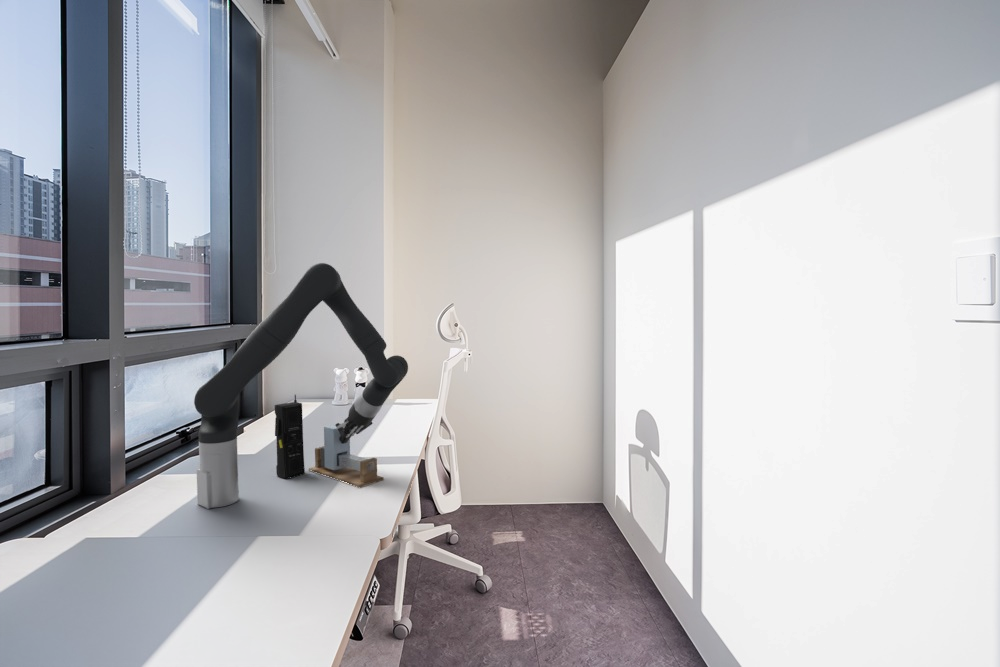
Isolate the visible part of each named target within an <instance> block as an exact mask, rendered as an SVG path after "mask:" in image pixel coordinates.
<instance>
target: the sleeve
mask: <svg viewBox="0 0 1000 667" xmlns="http://www.w3.org/2000/svg"><path fill="white" fill-rule="evenodd" d="M336 424H337V423H335V424H331V425H326V426H324V427H323V443H324V445H323V446H324V455H325V468H328V469H331V470H337V469H341V468H344V467H345V466H341V465H338V464H337V454H338V453H342V452H344V453H348V454H351V440H350V439H351V438H350V439H349V440H348V442H347V443H344V444H342V443H341V441H340V440H339V438H340V436H341V435H340V433H339V431H338V429H337V427H336V426H335V425H336Z"/></svg>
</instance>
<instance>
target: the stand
mask: <svg viewBox="0 0 1000 667" xmlns="http://www.w3.org/2000/svg"><path fill="white" fill-rule="evenodd" d="M321 447H324V445H323V446H319V447H315V448H314V465H315V466H313V467H310V468H308V471H309V470H312V471H314V472H317V473H320V474H323V475H326V476H329V477H332V478H335V479H338V480H341V481H344V482H347V483H349V484H348V485H350V484H352V485H351V486H353V485H355V486H354V487H356V486H357V488H359V487H360V488H363V487H366V486H368V485H372V484H375V483H378V482H381V481H384V476H380V475H378V458H377V457H371V458H366V459H367V460H363V461H360V471H358V470H355V469H351V468H348V467H344V468H341V469H337V470H331V469H328V468H325V467H322V466H321V457H320V450H321ZM372 461H374V464H373V465H374V468H373V469H374V471H371V472H368V471H370V468H369V467H370V466H368V465H371V470H373V469H372V466H373V465H372V463H373V462H372ZM369 462H371V464H370V463H369ZM367 464H368V465H367ZM366 465H367V466H366ZM367 468H369V470H368V469H367ZM366 469H367V470H366ZM366 471H367V472H368V473H367V472H366ZM314 472H313V473H314ZM317 473H316V474H317ZM320 474H319V475H320ZM323 475H322V476H323ZM326 476H325V477H326ZM329 477H328V478H329ZM332 478H331V479H332ZM335 479H334V480H335ZM338 480H337V481H338ZM341 481H340V482H341ZM344 482H343V483H344ZM347 483H346V484H347Z"/></svg>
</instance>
